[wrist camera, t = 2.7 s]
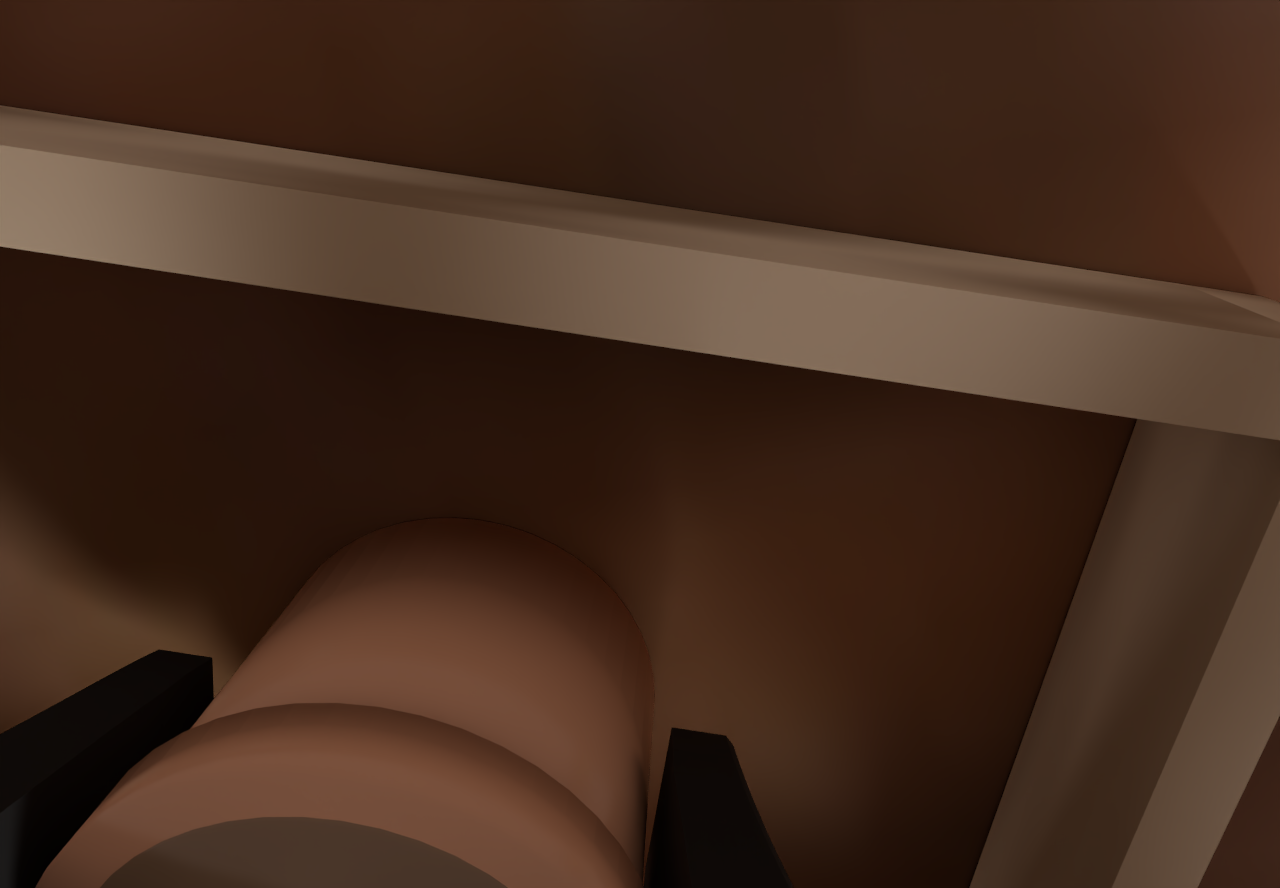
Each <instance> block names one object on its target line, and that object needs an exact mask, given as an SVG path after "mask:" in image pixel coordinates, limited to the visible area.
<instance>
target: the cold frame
mask: <svg viewBox="0 0 1280 888" xmlns="http://www.w3.org/2000/svg"><path fill="white" fill-rule="evenodd" d="M0 247H7V248H14V249H20V250H27V251H33V252H40V253H47V254H53V255H60V256H66V257H73V258H80V259H86V260H93V261H99V262H106V263H113V264H119V265H126V266H132V267H139V268H146V269H152V270H159V271H165V272H172V273H179V274H185V275H192V276H198V277H205V278H212V279H218V280H225V281H231V282H238V283H245V284H251V285H258V286H264V287H271V288H278V289H284V290H291V291H297V292H304V293H311V294H317V295H324V296H330V297H337V298H344V299H350V300H357V301H363V302H370V303H377V304H383V305H390V306H396V307H403V308H410V309H416V310H423V311H429V312H436V313H443V314H449V315H456V316H462V317H469V318H476V319H482V320H489V321H495V322H502V323H509V324H515V325H522V326H528V327H535V328H542V329H548V330H555V331H561V332H568V333H575V334H581V335H588V336H594V337H601V338H608V339H614V340H621V341H627V342H634V343H641V344H647V345H654V346H660V347H667V348H674V349H680V350H687V351H693V352H700V353H707V354H713V355H720V356H726V357H733V358H740V359H746V360H753V361H759V362H766V363H773V364H779V365H786V366H792V367H799V368H806V369H812V370H819V371H825V372H832V373H839V374H845V375H852V376H858V377H865V378H872V379H878V380H885V381H891V382H898V383H905V384H911V385H918V386H924V387H931V388H938V389H944V390H951V391H957V392H964V393H971V394H977V395H984V396H990V397H997V398H1004V399H1010V400H1017V401H1023V402H1030V403H1037V404H1043V405H1050V406H1056V407H1063V408H1070V409H1076V410H1083V411H1089V412H1096V413H1103V414H1109V415H1116V416H1122V417H1129V418H1136V419H1137V422H1136V424H1135V427H1134V430H1133V433H1132V436H1131V438H1130V441H1129V444H1128V447H1127V449H1126V452H1125V455H1124V458H1123V461H1122V463H1121V466H1120V469H1119V472H1118V475H1117V477H1116V480H1115V483H1114V486H1113V489H1112V491H1111V494H1110V497H1109V500H1108V502H1107V505H1106V508H1105V511H1104V514H1103V516H1102V519H1101V522H1100V525H1099V528H1098V530H1097V533H1096V536H1095V539H1094V542H1093V544H1092V547H1091V550H1090V553H1089V555H1088V558H1087V561H1086V564H1085V567H1084V569H1083V572H1082V575H1081V578H1080V581H1079V583H1078V586H1077V589H1076V592H1075V595H1074V597H1073V600H1072V603H1071V606H1070V608H1069V611H1068V614H1067V617H1066V620H1065V622H1064V625H1063V628H1062V631H1061V634H1060V636H1059V639H1058V642H1057V645H1056V648H1055V650H1054V653H1053V656H1052V659H1051V661H1050V664H1049V667H1048V670H1047V673H1046V675H1045V678H1044V681H1043V684H1042V687H1041V689H1040V692H1039V695H1038V698H1037V700H1036V703H1035V706H1034V709H1033V712H1032V714H1031V717H1030V720H1029V723H1028V726H1027V728H1026V731H1025V734H1024V737H1023V740H1022V742H1021V745H1020V748H1019V751H1018V753H1017V756H1016V759H1015V762H1014V765H1013V767H1012V770H1011V773H1010V776H1009V779H1008V781H1007V784H1006V787H1005V790H1004V793H1003V795H1002V798H1001V801H1000V804H999V806H998V809H997V812H996V815H995V818H994V820H993V823H992V826H991V829H990V832H989V834H988V837H987V840H986V843H985V846H984V848H983V851H982V854H981V857H980V859H979V862H978V865H977V868H976V871H975V873H974V876H973V879H972V882H971V885H970V887H969V888H1198V886H1199V884H1200V881H1201V879H1202V877H1203V875H1204V873H1205V871H1206V869H1207V867H1208V865H1209V863H1210V861H1211V858H1212V856H1213V854H1214V852H1215V850H1216V848H1217V846H1218V844H1219V842H1220V840H1221V838H1222V835H1223V833H1224V831H1225V829H1226V827H1227V825H1228V823H1229V821H1230V819H1231V817H1232V815H1233V812H1234V810H1235V808H1236V806H1237V804H1238V802H1239V800H1240V798H1241V796H1242V794H1243V791H1244V789H1245V787H1246V785H1247V783H1248V781H1249V779H1250V777H1251V775H1252V773H1253V771H1254V768H1255V766H1256V764H1257V762H1258V760H1259V758H1260V756H1261V754H1262V752H1263V750H1264V748H1265V745H1266V743H1267V741H1268V739H1269V737H1270V735H1271V733H1272V731H1273V729H1274V727H1275V725H1276V722H1277V720H1278V718H1279V716H1280V303H1279V302H1277V301H1274V300H1271V299H1269V298H1266V297H1263V296H1257V295H1250V294H1244V293H1237V292H1230V291H1224V290H1217V289H1211V288H1204V287H1197V286H1191V285H1184V284H1178V283H1171V282H1164V281H1158V280H1151V279H1145V278H1138V277H1131V276H1125V275H1118V274H1112V273H1105V272H1098V271H1092V270H1085V269H1079V268H1072V267H1065V266H1059V265H1052V264H1045V263H1039V262H1032V261H1026V260H1019V259H1012V258H1006V257H999V256H993V255H986V254H979V253H973V252H966V251H960V250H953V249H946V248H940V247H933V246H927V245H920V244H913V243H907V242H900V241H894V240H887V239H880V238H874V237H867V236H860V235H854V234H847V233H841V232H834V231H827V230H821V229H814V228H808V227H801V226H794V225H788V224H781V223H775V222H768V221H761V220H755V219H748V218H742V217H735V216H728V215H722V214H715V213H709V212H702V211H695V210H689V209H682V208H675V207H669V206H662V205H656V204H649V203H642V202H636V201H629V200H623V199H616V198H609V197H603V196H596V195H590V194H583V193H576V192H570V191H563V190H557V189H550V188H543V187H537V186H530V185H524V184H517V183H510V182H504V181H497V180H490V179H484V178H477V177H471V176H464V175H457V174H451V173H444V172H438V171H431V170H424V169H418V168H411V167H405V166H398V165H391V164H385V163H378V162H372V161H365V160H358V159H352V158H345V157H339V156H332V155H325V154H319V153H312V152H305V151H299V150H292V149H286V148H279V147H272V146H266V145H259V144H253V143H246V142H239V141H233V140H226V139H220V138H213V137H206V136H200V135H193V134H187V133H180V132H173V131H167V130H160V129H154V128H147V127H140V126H134V125H127V124H121V123H114V122H107V121H101V120H94V119H87V118H81V117H74V116H68V115H61V114H54V113H48V112H41V111H35V110H28V109H21V108H15V107H8V106H2V105H0Z"/></svg>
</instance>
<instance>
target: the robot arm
mask: <svg viewBox="0 0 1280 888" xmlns="http://www.w3.org/2000/svg"><path fill="white" fill-rule="evenodd" d="M213 699H214V697H213V667H212V658H211V657H204V656H198V655H191V654H185V653H178V652H171V651H165V650H157V651H155V652H153V653H151V654H149V655H147V656H145V657H143V658H140V659H139V660H137V661H135V662H133V663H131V664H129V665H127V666H125V667H123V668H121V669H119V670H118V671H116V672H114V673H112V674H110V675H108V676H106V677H105V678H103V679H101V680H99V681H97V682H95V683H94V684H92V685H90V686H88V687H86V688H85V689H83V690H81V691H79V692H77V693H75V694H74V695H72V696H70V697H68V698H66V699H64V700H63V701H61V702H59V703H57V704H55V705H54V706H52V707H50V708H48V709H46V710H44V711H43V712H41V713H39V714H37V715H35V716H33V717H31V718H30V719H28V720H26V721H24V722H22V723H20V724H18V725H17V726H15V727H13V728H11V729H9V730H7V731H5V732H4V733H2V734H0V888H35V887H36V885H37V884H38V882H39V880H40V879H41V877H42V875H43V873H44V872H45V870H46V868H47V867H48V866H49V865H50V863H51V862H52V861H53V860H54V859H55V857H56V856H57V855H58V854H59V853H60V851H61V850H62V849H63V848H64V846H65V845H66V844H67V843H68V842H69V840H70V839H71V838H72V837H73V836H74V834H75V833H76V832H77V831H78V830H79V828H80V827H81V826H82V825H83V824H84V822H85V821H86V820H87V819H88V818H89V816H90V815H91V814H92V813H93V812H94V810H95V809H96V808H97V807H98V806H99V804H100V803H101V802H102V801H103V800H104V798H105V797H106V796H107V795H108V794H109V792H110V791H111V790H112V789H113V788H114V787H115V785H116V784H117V783H118V782H119V781H120V780H121V778H122V777H123V776H124V775H125V774H126V773H127V772H128V770H129V769H131V768H132V767H133V766H134V765H136V764H137V763H138V762H139V761H140V760H142V759H143V758H144V757H145V756H146V755H148V754H149V753H150V752H151V751H153V750H154V749H155V748H157V747H159V746H161V745H162V744H164V743H166V742H167V741H169V740H171V739H172V738H174V737H176V736H178V735H179V734H181V733H183V732H185V731H187V730H190V729H191V727H192V726H193V725H194V724H195V722H196V721H197V720H198V718H199V717H200V716H201V715H202V713H203V712H204V711H205V710H206V708H207V707H208V706H209V704H210V703H211V702H212V701H213ZM644 888H794V887H793V885H792V883H791V881H790V879H789V877H788V875H787V873H786V871H785V869H784V867H783V865H782V863H781V861H780V859H779V857H778V855H777V853H776V851H775V848H774V846H773V844H772V842H771V840H770V837H769V835H768V833H767V831H766V829H765V826H764V824H763V822H762V819H761V817H760V815H759V812H758V810H757V808H756V805H755V803H754V801H753V798H752V796H751V793H750V791H749V788H748V786H747V783H746V780H745V778H744V775H743V772H742V770H741V767H740V764H739V761H738V758H737V755H736V752H735V749H734V746H733V745H732V743H731V742H730V741H729V739H728V738H727V737H726V736H724V735H718V734H711V733H705V732H698V731H691V730H685V729H678V728H672V730H671V735H670V740H669V746H668V751H667V756H666V762H665V767H664V772H663V778H662V783H661V788H660V794H659V799H658V804H657V810H656V815H655V820H654V826H653V831H652V836H651V842H650V847H649V852H648V858H647V863H646V870H645V881H644Z"/></svg>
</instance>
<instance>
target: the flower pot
mask: <svg viewBox="0 0 1280 888" xmlns="http://www.w3.org/2000/svg"><path fill="white" fill-rule="evenodd" d="M654 699H655V693H654V676H653V671H652V666H651V662H650V657H649V653H648V650H647V648H646V645H645V642H644V640H643V637H642V634H641V632H640V630H639V628H638V627H637V625H636V623H635V621H634V619H633V618H632V616H631V614H630V612H629V611H628V609H627V608H626V607H625V605H624V604H623V603H622V601H621V600H620V599H619V597H618V596H617V595H616V593H615V592H614V591H613V590H612V589H611V588H610V587H609V586H608V585H607V584H606V583H605V582H604V581H603V580H602V579H601V578H600V577H599V576H598V575H597V574H596V573H595V572H593V571H592V570H591V569H590V568H588V567H587V566H586V565H585V564H583V563H582V562H581V561H580V560H579V559H577V558H575V557H574V556H572V555H571V554H569V553H567V552H566V551H564V550H563V549H561V548H559V547H558V546H556V545H554V544H552V543H550V542H548V541H546V540H543V539H541V538H539V537H537V536H535V535H533V534H530V533H527V532H524V531H521V530H518V529H515V528H512V527H509V526H506V525H501V524H496V523H492V522H487V521H482V520H473V519H462V518H429V519H422V520H415V521H409V522H403V523H399V524H396V525H392V526H389V527H385V528H382V529H379V530H376V531H374V532H372V533H370V534H367V535H365V536H363V537H360V538H358V539H356V540H355V541H353V542H351V543H350V544H348V545H347V546H345V547H343V548H342V549H340V550H338V551H337V552H336V553H335V554H333V555H332V556H331V557H330V558H329V559H328V560H326V561H325V562H324V563H323V564H322V565H320V566H319V568H318V569H317V570H316V571H315V572H314V573H313V575H312V576H311V577H310V578H309V579H308V580H307V581H306V583H305V584H304V585H303V586H302V588H301V589H300V590H299V592H298V593H297V594H296V595H295V597H294V598H293V599H292V600H291V602H290V603H289V604H288V605H287V607H286V608H285V609H284V611H283V612H282V613H281V614H280V616H279V617H278V618H277V619H276V621H275V622H274V623H273V625H272V626H271V627H270V628H269V630H268V631H267V632H266V633H265V635H264V636H263V637H262V638H261V640H260V641H259V642H258V644H257V645H256V646H255V647H254V649H253V650H252V651H251V652H250V654H249V655H248V656H247V658H246V659H245V660H244V661H243V663H242V664H241V665H240V666H239V668H238V669H237V670H236V671H235V673H234V674H233V675H232V677H231V678H230V679H229V680H228V682H227V683H226V684H225V685H224V687H223V688H222V689H221V691H220V692H219V693H218V694H217V696H216V697H215V698H214V699H213V701H212V702H211V703H210V704H209V706H208V707H207V708H206V710H205V711H204V712H203V713H202V715H201V716H200V717H199V718H198V720H197V721H196V722H195V724H194V725H193V726H192V727H191V729H190V730H187V731H185V732H183V733H181V734H179V735H178V736H176V737H174V738H172V739H171V740H169V741H167V742H166V743H164V744H162V745H161V746H159V747H157V748H155V749H154V750H153V751H151V752H150V753H149V754H148V755H146V756H145V757H144V758H143V759H142V760H140V761H139V762H138V763H137V764H136V765H134V766H133V767H132V768H131V769H129V770H128V772H127V773H126V774H125V775H124V776H123V777H122V778H121V780H120V781H119V782H118V783H117V784H116V785H115V787H114V788H113V789H112V790H111V791H110V792H109V794H108V795H107V796H106V797H105V798H104V800H103V801H102V802H101V803H100V804H99V806H98V807H97V808H96V809H95V810H94V812H93V813H92V814H91V815H90V816H89V818H88V819H87V820H86V821H85V822H84V824H83V825H82V826H81V827H80V828H79V830H78V831H77V832H76V833H75V834H74V836H73V837H72V838H71V839H70V840H69V842H68V843H67V844H66V845H65V846H64V848H63V849H62V850H61V851H60V853H59V854H58V855H57V856H56V857H55V859H54V860H53V861H52V862H51V863H50V865H49V866H48V867H47V868H46V870H45V872H44V873H43V875H42V877H41V879H40V880H39V882H38V884H37V885H36V887H35V888H644V886H643V884H642V880H643V865H644V850H645V835H646V820H647V805H648V790H649V775H650V759H651V744H652V729H653V714H654Z"/></svg>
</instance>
